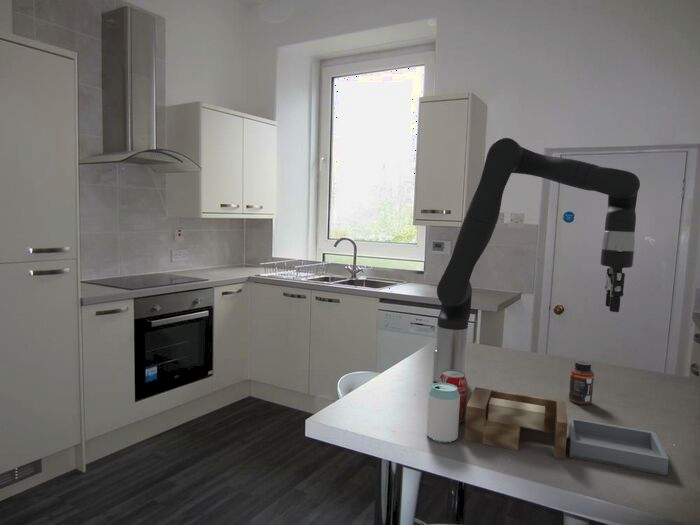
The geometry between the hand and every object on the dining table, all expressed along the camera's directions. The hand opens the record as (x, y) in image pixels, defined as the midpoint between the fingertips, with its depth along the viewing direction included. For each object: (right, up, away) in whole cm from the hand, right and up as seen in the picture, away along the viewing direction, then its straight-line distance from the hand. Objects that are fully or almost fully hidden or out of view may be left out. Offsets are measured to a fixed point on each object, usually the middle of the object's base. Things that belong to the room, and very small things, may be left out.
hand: (611, 309), depth 131 cm
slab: (-32, -24, -18) cm, 44 cm away
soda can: (-45, -27, -8) cm, 53 cm away
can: (-49, -28, -18) cm, 59 cm away
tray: (-12, -29, -23) cm, 39 cm away
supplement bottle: (-5, -27, +8) cm, 29 cm away
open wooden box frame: (-32, -28, -17) cm, 46 cm away
